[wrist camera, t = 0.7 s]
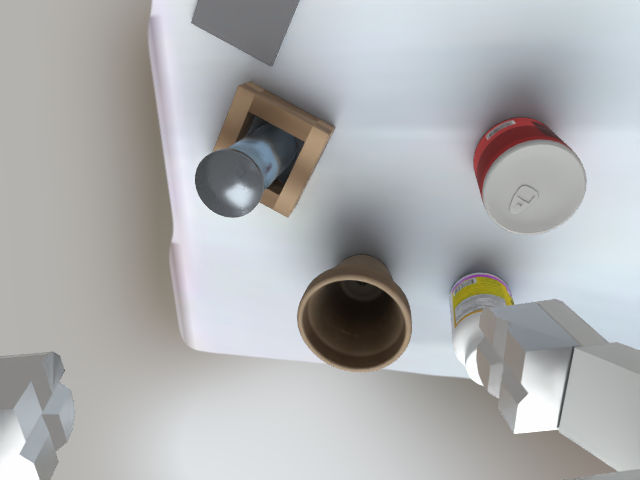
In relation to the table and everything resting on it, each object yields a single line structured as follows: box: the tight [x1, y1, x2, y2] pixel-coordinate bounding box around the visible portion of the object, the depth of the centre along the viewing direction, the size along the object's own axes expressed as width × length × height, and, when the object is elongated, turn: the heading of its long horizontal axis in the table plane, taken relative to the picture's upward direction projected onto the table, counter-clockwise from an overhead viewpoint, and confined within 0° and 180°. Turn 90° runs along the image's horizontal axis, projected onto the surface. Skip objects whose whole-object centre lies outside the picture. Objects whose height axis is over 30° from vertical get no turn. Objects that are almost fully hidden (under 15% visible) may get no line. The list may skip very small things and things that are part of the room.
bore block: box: [213, 82, 335, 217], centre depth 53 cm, size 10×10×4 cm
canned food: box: [474, 118, 586, 235], centre depth 45 cm, size 8×8×11 cm
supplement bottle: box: [450, 273, 514, 386], centre depth 51 cm, size 7×7×13 cm
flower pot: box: [297, 255, 412, 372], centre depth 54 cm, size 12×11×10 cm
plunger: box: [195, 123, 296, 218], centre depth 48 cm, size 6×6×14 cm
